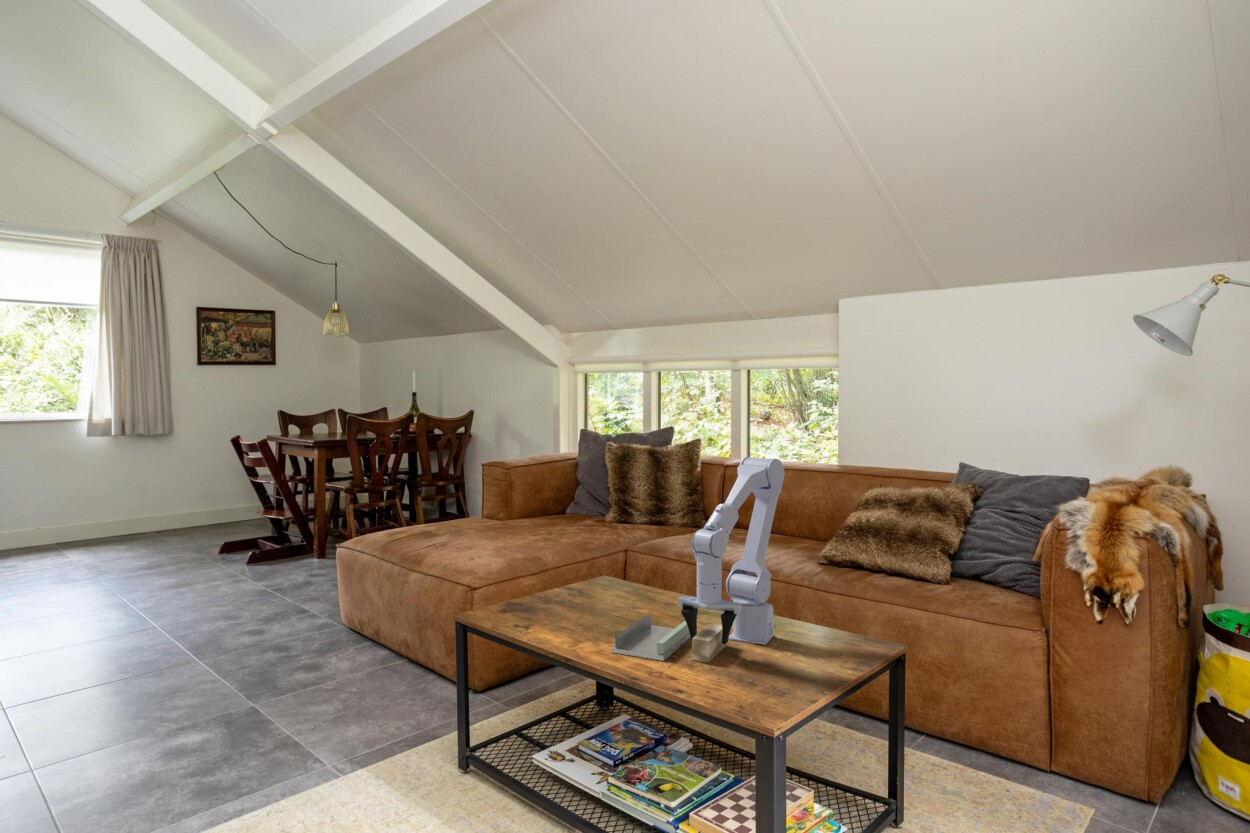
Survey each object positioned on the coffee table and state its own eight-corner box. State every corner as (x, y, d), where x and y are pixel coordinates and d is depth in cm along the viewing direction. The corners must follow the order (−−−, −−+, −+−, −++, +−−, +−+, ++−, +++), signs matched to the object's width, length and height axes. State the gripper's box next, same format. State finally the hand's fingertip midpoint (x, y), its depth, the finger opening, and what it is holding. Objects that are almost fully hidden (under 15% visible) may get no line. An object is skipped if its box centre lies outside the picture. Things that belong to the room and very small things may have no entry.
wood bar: (726, 646, 177) (725, 625, 176) (709, 663, 166) (709, 641, 166) (709, 643, 178) (709, 623, 178) (692, 660, 168) (692, 638, 167)
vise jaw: (690, 631, 183) (690, 621, 183) (663, 654, 168) (663, 643, 168) (684, 630, 184) (684, 620, 184) (656, 653, 169) (656, 642, 168)
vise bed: (693, 635, 184) (693, 620, 184) (663, 661, 167) (663, 645, 167) (645, 628, 190) (645, 614, 189) (611, 652, 173) (611, 637, 172)
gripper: (673, 582, 171) (673, 641, 172) (734, 589, 165) (734, 650, 165) (684, 575, 177) (684, 632, 178) (743, 582, 171) (743, 640, 172)
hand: (709, 640), depth 172 cm, fingers open, 7 cm apart
